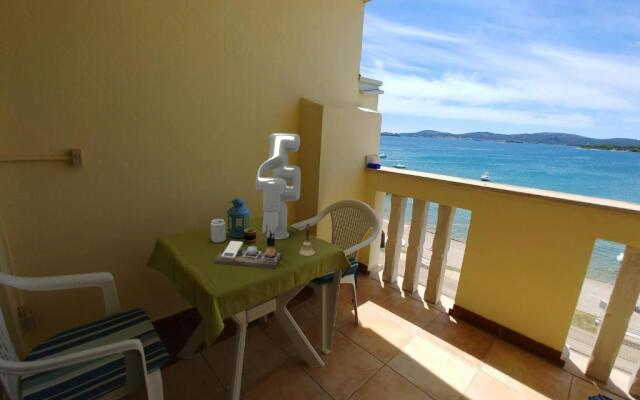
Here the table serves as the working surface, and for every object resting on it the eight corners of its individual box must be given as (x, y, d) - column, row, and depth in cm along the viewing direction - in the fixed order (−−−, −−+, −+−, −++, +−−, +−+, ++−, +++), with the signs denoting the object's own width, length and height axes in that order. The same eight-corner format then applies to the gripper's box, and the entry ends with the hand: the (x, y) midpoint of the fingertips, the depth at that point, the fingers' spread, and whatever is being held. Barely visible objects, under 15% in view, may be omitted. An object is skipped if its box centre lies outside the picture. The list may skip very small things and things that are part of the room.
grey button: (249, 250, 126) (249, 245, 126) (258, 251, 126) (258, 246, 125) (245, 254, 122) (245, 249, 121) (255, 255, 122) (255, 250, 121)
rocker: (231, 242, 130) (230, 240, 129) (243, 243, 129) (242, 241, 129) (221, 257, 120) (221, 255, 120) (234, 259, 120) (234, 256, 119)
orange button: (267, 252, 126) (267, 247, 125) (276, 252, 125) (276, 248, 125) (264, 256, 121) (264, 251, 121) (274, 256, 121) (274, 252, 120)
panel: (226, 251, 132) (226, 242, 131) (281, 256, 130) (281, 247, 129) (214, 263, 120) (213, 253, 118) (274, 268, 118) (274, 259, 116)
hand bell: (295, 253, 135) (296, 223, 131) (305, 248, 142) (306, 220, 138) (308, 257, 130) (309, 227, 127) (317, 252, 137) (319, 223, 134)
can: (220, 244, 140) (220, 223, 138) (208, 242, 142) (207, 221, 139) (228, 239, 148) (227, 218, 145) (216, 237, 149) (215, 217, 146)
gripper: (268, 203, 126) (267, 239, 130) (258, 211, 111) (257, 251, 115) (283, 204, 125) (282, 240, 129) (275, 212, 110) (274, 252, 115)
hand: (270, 245), depth 122 cm, fingers closed
